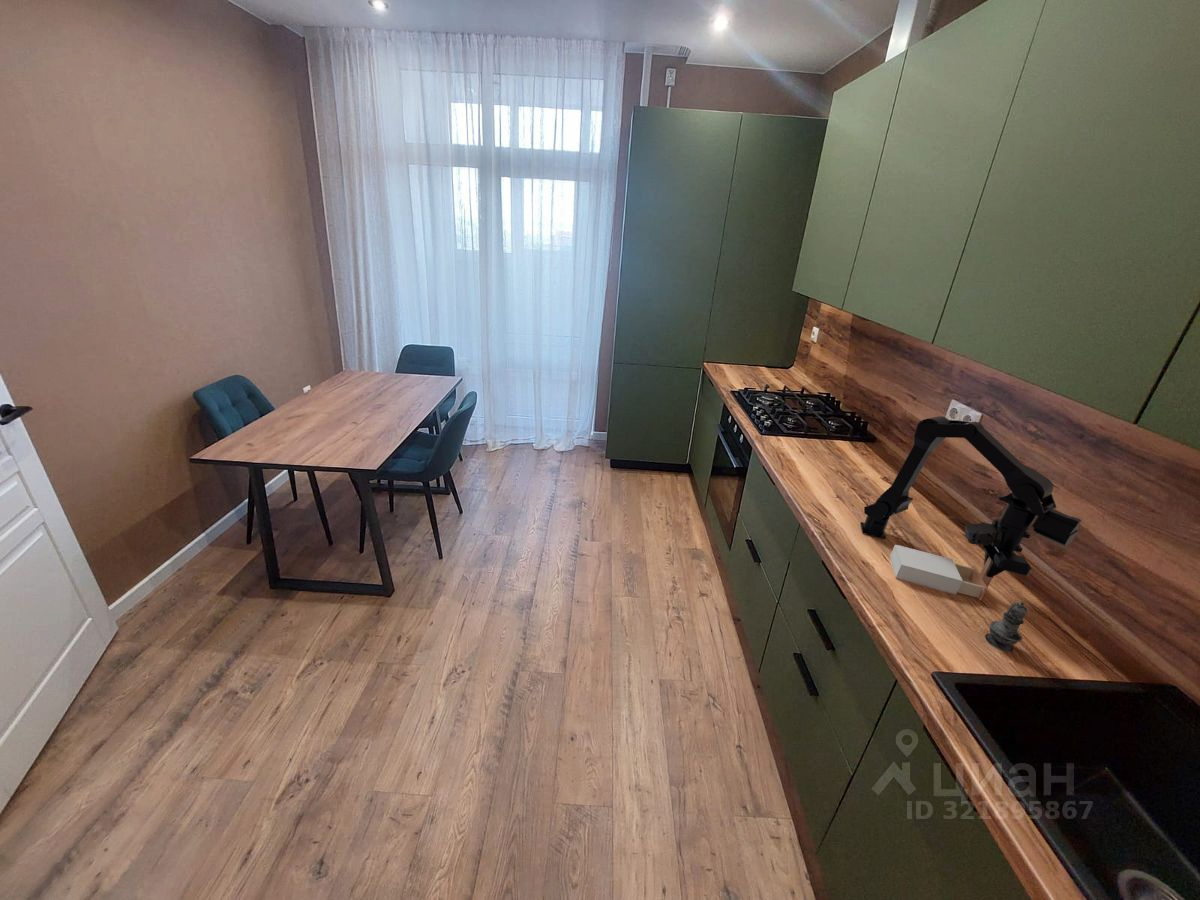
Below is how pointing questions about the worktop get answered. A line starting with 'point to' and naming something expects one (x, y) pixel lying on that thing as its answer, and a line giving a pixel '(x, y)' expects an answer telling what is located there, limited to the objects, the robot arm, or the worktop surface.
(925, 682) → the worktop surface
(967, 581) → the mailer tray
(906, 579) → the sleeve
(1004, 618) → the grey figurine
